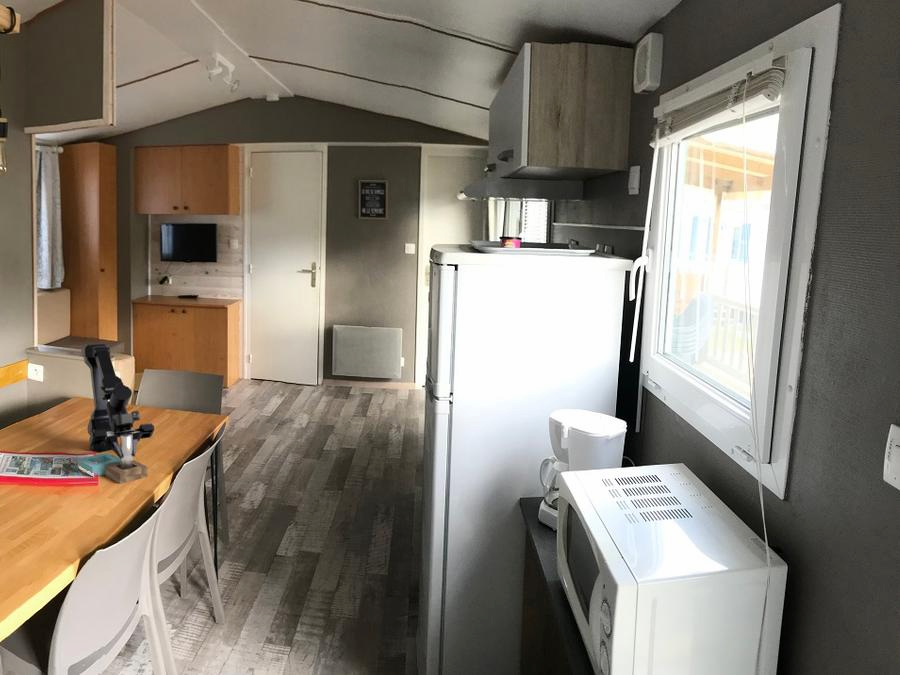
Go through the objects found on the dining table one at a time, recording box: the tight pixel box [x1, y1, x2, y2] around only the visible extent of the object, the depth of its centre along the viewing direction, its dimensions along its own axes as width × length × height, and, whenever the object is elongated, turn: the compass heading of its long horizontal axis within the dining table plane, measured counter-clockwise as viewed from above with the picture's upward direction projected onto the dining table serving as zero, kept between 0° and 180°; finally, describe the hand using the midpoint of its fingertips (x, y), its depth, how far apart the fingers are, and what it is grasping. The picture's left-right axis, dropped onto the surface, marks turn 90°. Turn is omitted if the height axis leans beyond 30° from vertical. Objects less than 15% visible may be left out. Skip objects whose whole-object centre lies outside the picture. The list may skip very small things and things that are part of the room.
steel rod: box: [119, 434, 134, 470], centre depth 214 cm, size 4×4×14 cm
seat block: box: [77, 452, 120, 477], centre depth 219 cm, size 10×10×4 cm
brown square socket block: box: [105, 459, 148, 484], centre depth 215 cm, size 9×9×4 cm
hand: (127, 457), depth 213 cm, fingers closed on steel rod, 4 cm apart
